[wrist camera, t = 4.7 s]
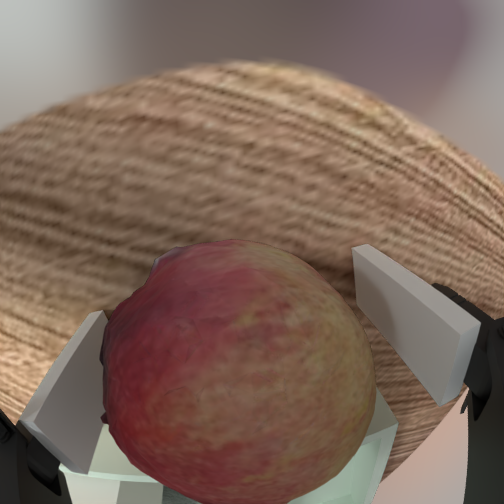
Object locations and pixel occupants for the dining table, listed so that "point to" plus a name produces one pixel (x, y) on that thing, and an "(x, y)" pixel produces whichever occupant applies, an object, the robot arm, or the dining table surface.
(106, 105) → the dining table surface
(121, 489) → the box
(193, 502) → the tin
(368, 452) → the tote
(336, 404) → the fruit
